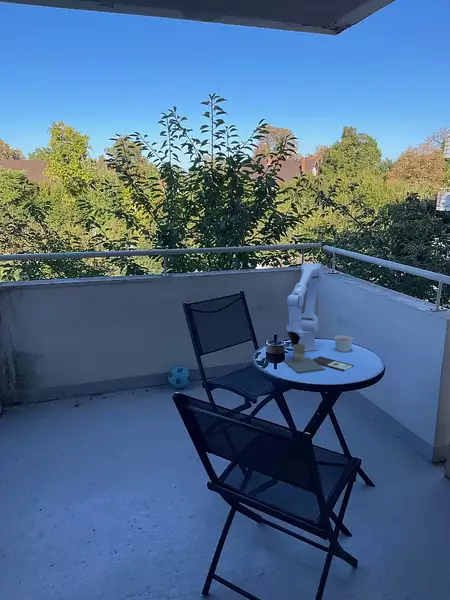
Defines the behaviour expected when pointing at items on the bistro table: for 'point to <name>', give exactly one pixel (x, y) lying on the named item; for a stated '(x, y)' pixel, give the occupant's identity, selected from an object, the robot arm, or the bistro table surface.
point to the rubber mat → (304, 365)
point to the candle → (343, 343)
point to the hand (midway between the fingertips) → (294, 347)
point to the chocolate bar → (332, 363)
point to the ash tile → (298, 352)
